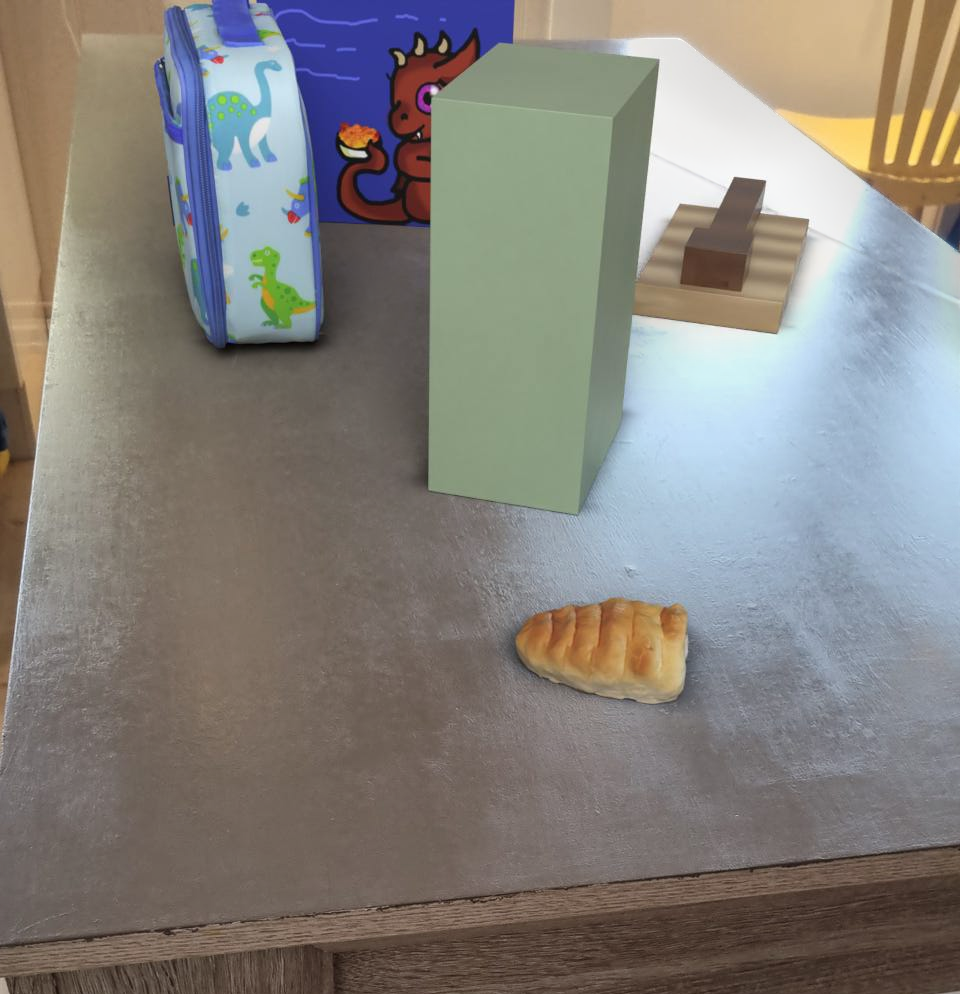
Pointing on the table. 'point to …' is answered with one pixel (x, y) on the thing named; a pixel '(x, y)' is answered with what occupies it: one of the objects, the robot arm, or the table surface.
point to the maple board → (745, 310)
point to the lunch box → (240, 174)
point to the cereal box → (381, 93)
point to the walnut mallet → (725, 240)
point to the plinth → (534, 269)
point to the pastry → (610, 648)
